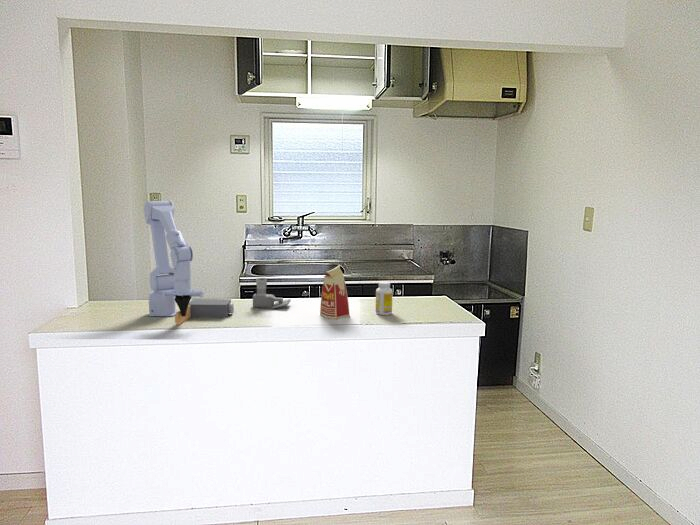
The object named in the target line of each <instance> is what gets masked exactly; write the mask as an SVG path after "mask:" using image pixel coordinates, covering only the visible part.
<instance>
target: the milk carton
mask: <svg viewBox="0 0 700 525" xmlns="http://www.w3.org/2000/svg"><path fill="white" fill-rule="evenodd" d="M323 277H324V279H323V283H322V288H321V296H320V297H321V298H320V299H321V300H320V310H319V313H320V314H319V315H320V316H322V317H324V318H326V319H332V320H338V319H342V317H343V318H347V317H351V316H350V305H349V298H348V290H347V285H346V280H345V277H344V273H343V271H342V269H341V265H340V264H339V265H337V266H336V267H334V268H333V269H330V270H328V271H326V274H325V275H324V276H323Z"/></svg>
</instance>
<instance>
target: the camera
mask: <svg viewBox="0 0 700 525" xmlns="http://www.w3.org/2000/svg"><path fill="white" fill-rule="evenodd" d="M255 280H256V281H255V282H256V284H255V285H256V293H254V294H253V295H252V308H256V307H264V308H263V309H272V310H273V309H277V308H282V307H287V306H289V304H290V302H291V299H285V300H284V298H283V297H276V296H275V294H271V293H270V294H269V293H267V285H268V282H267V281H268V279H267V278H262V277H260V278H256V279H255Z"/></svg>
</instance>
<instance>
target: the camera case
mask: <svg viewBox="0 0 700 525" xmlns="http://www.w3.org/2000/svg"><path fill="white" fill-rule="evenodd" d="M188 305H190V306H191V317H190V318H228V316H229V315H230V314H234V310H235V305H234V303H233V302H232V300H231V298H229V299H228V298H191V299H190V302H189V304H188ZM229 313H230V314H229ZM228 314H229V315H228Z"/></svg>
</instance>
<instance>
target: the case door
mask: <svg viewBox="0 0 700 525" xmlns="http://www.w3.org/2000/svg"><path fill="white" fill-rule="evenodd" d="M178 310H179V311H178V312H176V314H175V315H174V323H176V324H175V325H176V326H180V324H182V323H184V322H186V321H187V320H188V319H190V318H192V317H191V306H190V305H188V307H187V312H186V316H181V312H180V309H178Z"/></svg>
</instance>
